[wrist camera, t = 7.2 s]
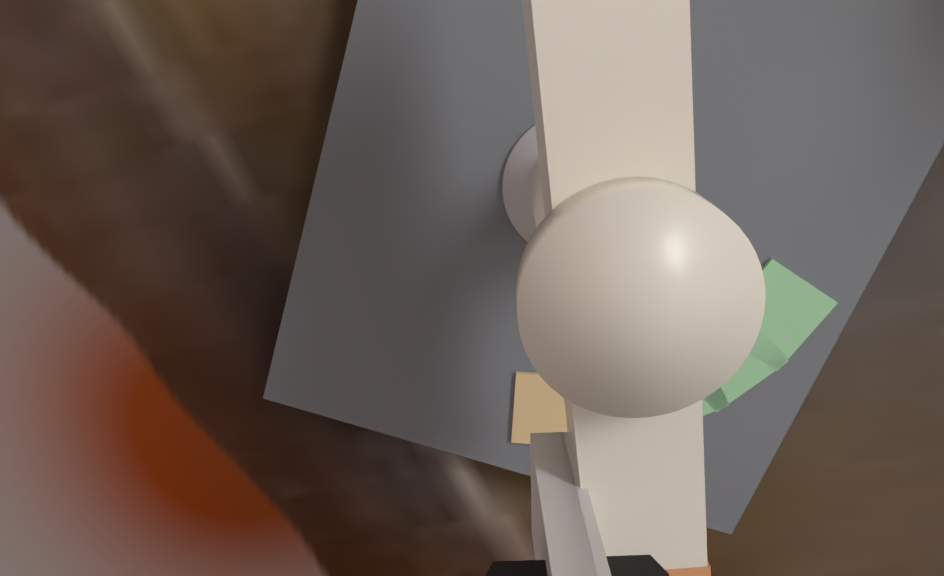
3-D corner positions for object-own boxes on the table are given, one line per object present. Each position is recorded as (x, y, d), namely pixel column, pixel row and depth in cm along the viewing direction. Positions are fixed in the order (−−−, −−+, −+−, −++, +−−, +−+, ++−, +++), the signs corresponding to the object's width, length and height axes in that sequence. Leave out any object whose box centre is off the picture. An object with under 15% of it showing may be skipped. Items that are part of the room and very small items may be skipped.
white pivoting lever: (472, -108, 18) (446, -252, 9) (629, -133, 18) (767, -309, 9) (538, 437, 23) (563, 693, 14) (660, 425, 23) (764, 679, 14)
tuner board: (411, -190, 19) (405, -207, 18) (985, 14, 20) (1018, 12, 19) (273, 381, 25) (261, 400, 24) (721, 512, 26) (732, 537, 25)
